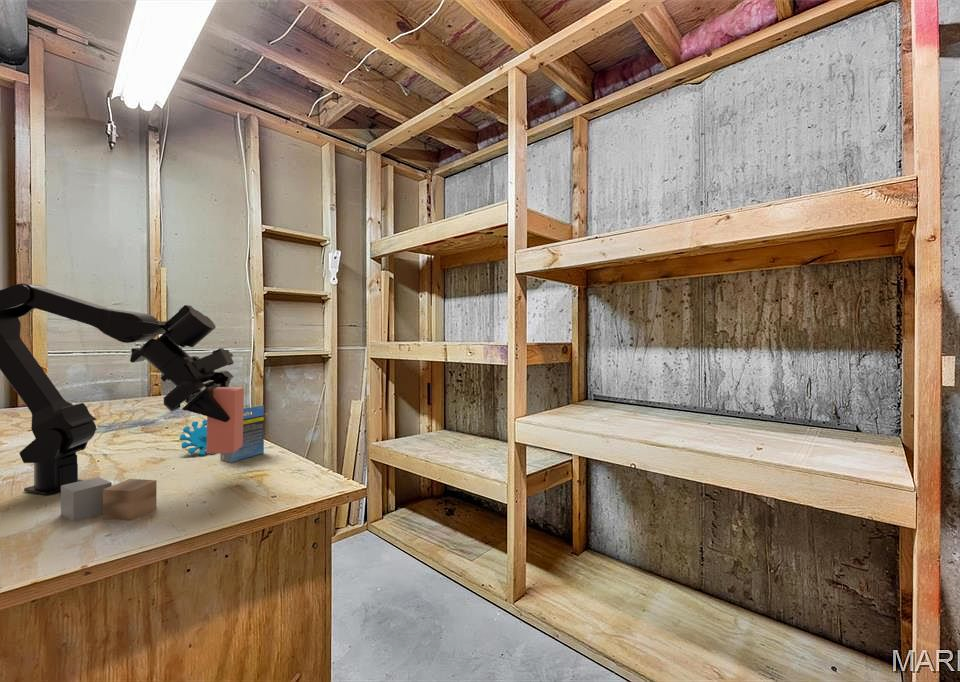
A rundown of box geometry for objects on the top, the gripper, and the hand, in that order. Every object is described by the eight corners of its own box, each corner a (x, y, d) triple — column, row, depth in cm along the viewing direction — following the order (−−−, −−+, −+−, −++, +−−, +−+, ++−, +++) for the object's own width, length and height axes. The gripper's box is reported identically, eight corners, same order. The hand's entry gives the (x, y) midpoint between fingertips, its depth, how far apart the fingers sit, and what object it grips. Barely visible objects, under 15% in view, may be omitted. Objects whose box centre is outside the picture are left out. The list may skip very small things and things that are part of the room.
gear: (177, 453, 101) (182, 417, 107) (174, 465, 104) (180, 430, 110) (230, 452, 107) (233, 419, 113) (226, 464, 110) (229, 431, 116)
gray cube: (60, 515, 72) (60, 485, 72) (98, 504, 76) (98, 476, 76) (73, 522, 69) (73, 491, 69) (111, 511, 74) (111, 482, 74)
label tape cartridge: (254, 451, 109) (255, 403, 109) (264, 453, 108) (265, 405, 107) (219, 460, 101) (220, 408, 101) (229, 463, 100) (230, 410, 99)
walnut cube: (102, 519, 71) (102, 489, 70) (129, 506, 76) (129, 478, 75) (131, 521, 70) (131, 491, 70) (156, 508, 75) (156, 480, 75)
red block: (206, 453, 85) (207, 390, 85) (216, 446, 90) (218, 387, 90) (233, 452, 86) (235, 391, 86) (242, 445, 91) (243, 387, 91)
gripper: (183, 337, 77) (248, 398, 80) (224, 334, 96) (276, 384, 98) (133, 379, 76) (201, 440, 79) (184, 368, 94) (237, 418, 97)
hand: (233, 417), depth 88 cm, fingers closed on red block, 5 cm apart
